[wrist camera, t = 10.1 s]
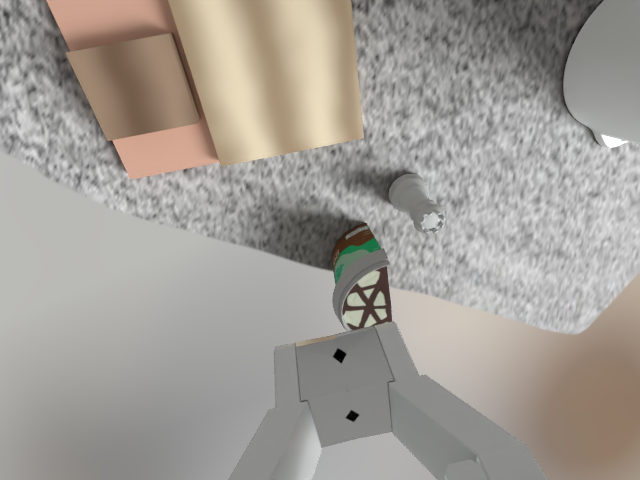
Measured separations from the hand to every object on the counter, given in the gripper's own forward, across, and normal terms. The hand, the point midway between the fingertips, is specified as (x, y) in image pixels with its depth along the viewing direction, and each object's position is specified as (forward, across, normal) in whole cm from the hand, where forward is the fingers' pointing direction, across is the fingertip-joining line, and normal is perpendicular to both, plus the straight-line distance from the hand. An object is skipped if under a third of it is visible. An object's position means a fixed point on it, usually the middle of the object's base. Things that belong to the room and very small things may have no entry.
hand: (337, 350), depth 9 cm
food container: (+31, -4, +20) cm, 37 cm away
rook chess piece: (+31, -12, +12) cm, 36 cm away
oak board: (+31, 0, -4) cm, 31 cm away
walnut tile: (+30, +12, -4) cm, 32 cm away
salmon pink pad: (+31, +12, -4) cm, 33 cm away
